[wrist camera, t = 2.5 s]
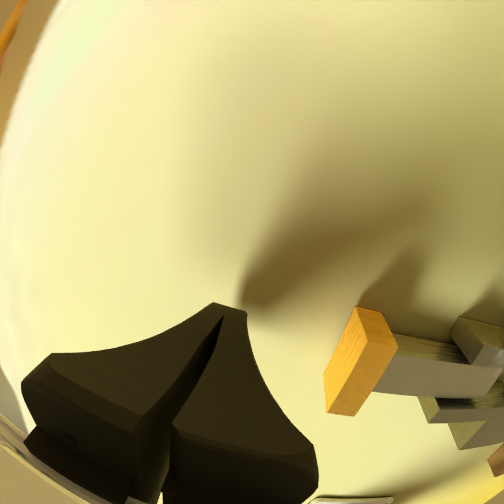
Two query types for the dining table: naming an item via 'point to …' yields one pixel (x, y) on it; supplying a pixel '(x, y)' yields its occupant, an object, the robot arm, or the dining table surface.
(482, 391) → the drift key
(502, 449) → the frame
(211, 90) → the dining table surface
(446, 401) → the socket block
